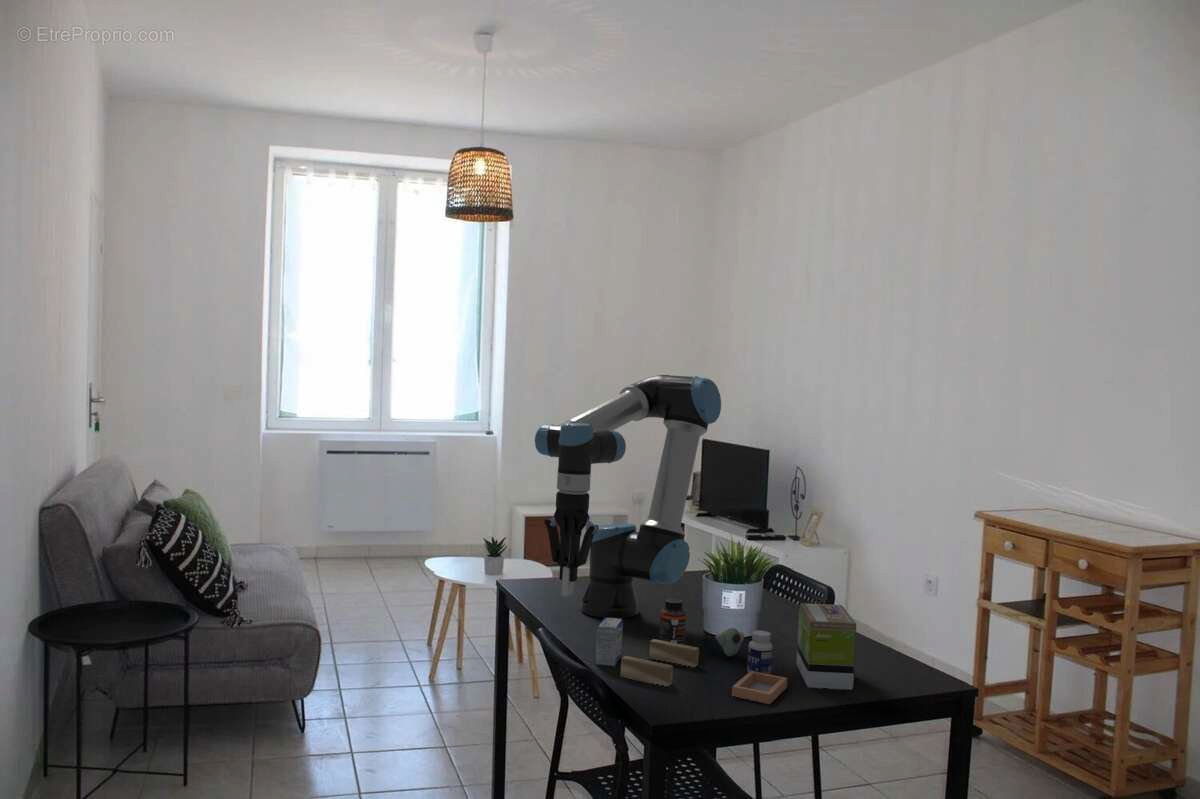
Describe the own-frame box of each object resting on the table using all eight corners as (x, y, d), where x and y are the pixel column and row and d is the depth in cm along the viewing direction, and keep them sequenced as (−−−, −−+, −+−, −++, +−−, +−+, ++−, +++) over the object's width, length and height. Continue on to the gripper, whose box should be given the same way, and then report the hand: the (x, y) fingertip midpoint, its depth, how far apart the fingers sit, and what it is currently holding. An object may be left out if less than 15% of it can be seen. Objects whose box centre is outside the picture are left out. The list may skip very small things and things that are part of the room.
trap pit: (750, 679, 216) (750, 670, 216) (786, 687, 212) (787, 678, 212) (731, 696, 205) (732, 686, 205) (769, 704, 202) (770, 694, 202)
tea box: (794, 665, 228) (798, 601, 227) (839, 668, 227) (843, 603, 227) (806, 688, 213) (810, 619, 212) (854, 691, 212) (858, 622, 212)
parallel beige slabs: (652, 656, 229) (653, 639, 229) (697, 665, 224) (698, 647, 224) (620, 676, 214) (621, 658, 214) (668, 687, 209) (669, 668, 209)
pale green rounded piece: (738, 652, 235) (740, 623, 235) (750, 657, 232) (751, 628, 232) (711, 656, 231) (713, 627, 231) (722, 661, 228) (724, 632, 227)
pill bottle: (742, 670, 222) (744, 630, 222) (760, 667, 225) (762, 628, 224) (757, 677, 218) (759, 637, 217) (776, 674, 220) (778, 634, 220)
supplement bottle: (680, 653, 232) (682, 605, 232) (655, 649, 234) (657, 601, 234) (686, 646, 238) (689, 599, 237) (662, 642, 240) (665, 596, 239)
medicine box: (615, 667, 220) (617, 628, 220) (595, 664, 221) (597, 625, 221) (621, 656, 228) (623, 618, 227) (602, 654, 229) (604, 616, 228)
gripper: (539, 489, 227) (534, 593, 228) (591, 496, 221) (585, 602, 222) (556, 486, 234) (550, 587, 235) (606, 493, 228) (600, 596, 229)
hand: (567, 594), depth 228 cm, fingers closed
